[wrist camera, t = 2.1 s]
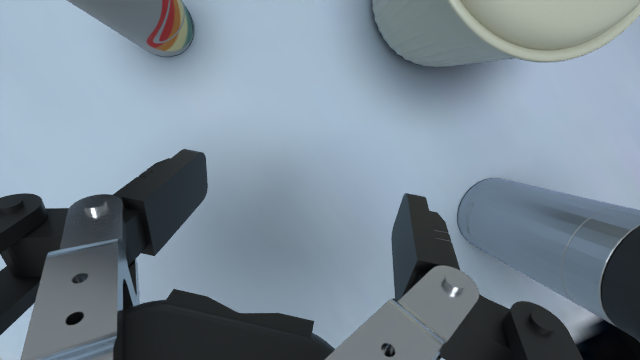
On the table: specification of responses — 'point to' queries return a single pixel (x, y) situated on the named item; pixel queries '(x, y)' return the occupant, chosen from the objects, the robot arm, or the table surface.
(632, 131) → the table surface
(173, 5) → the lotion bottle
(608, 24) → the canister
